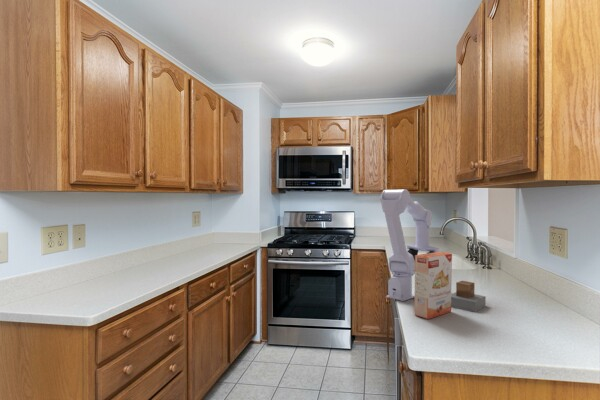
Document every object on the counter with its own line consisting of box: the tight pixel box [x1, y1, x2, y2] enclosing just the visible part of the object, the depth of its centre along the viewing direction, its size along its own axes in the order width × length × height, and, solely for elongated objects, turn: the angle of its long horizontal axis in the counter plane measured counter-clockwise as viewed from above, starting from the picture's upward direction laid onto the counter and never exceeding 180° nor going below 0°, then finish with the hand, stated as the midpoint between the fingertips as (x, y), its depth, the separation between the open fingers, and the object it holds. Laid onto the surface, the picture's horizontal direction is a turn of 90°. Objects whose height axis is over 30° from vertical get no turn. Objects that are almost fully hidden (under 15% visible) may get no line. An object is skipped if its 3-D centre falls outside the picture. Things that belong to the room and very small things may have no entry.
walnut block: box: [455, 280, 475, 299], centre depth 134 cm, size 5×5×5 cm
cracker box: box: [413, 251, 453, 320], centre depth 125 cm, size 14×6×21 cm, turn 126°
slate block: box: [451, 292, 487, 313], centre depth 134 cm, size 10×10×4 cm
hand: (422, 267), depth 159 cm, fingers open, 7 cm apart
